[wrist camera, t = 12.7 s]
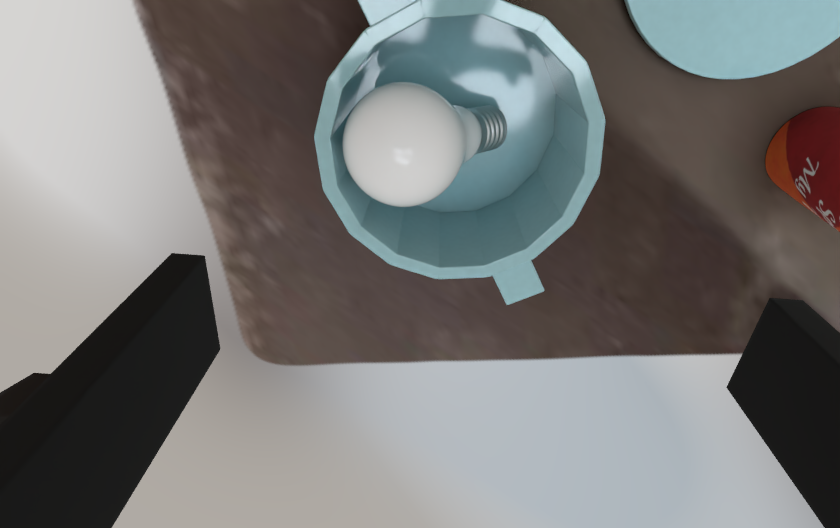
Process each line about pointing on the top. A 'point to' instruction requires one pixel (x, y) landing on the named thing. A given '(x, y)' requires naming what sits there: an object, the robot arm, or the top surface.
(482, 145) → the lightbulb
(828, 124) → the paper cup
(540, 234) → the pot
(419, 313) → the top surface
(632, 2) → the lid
